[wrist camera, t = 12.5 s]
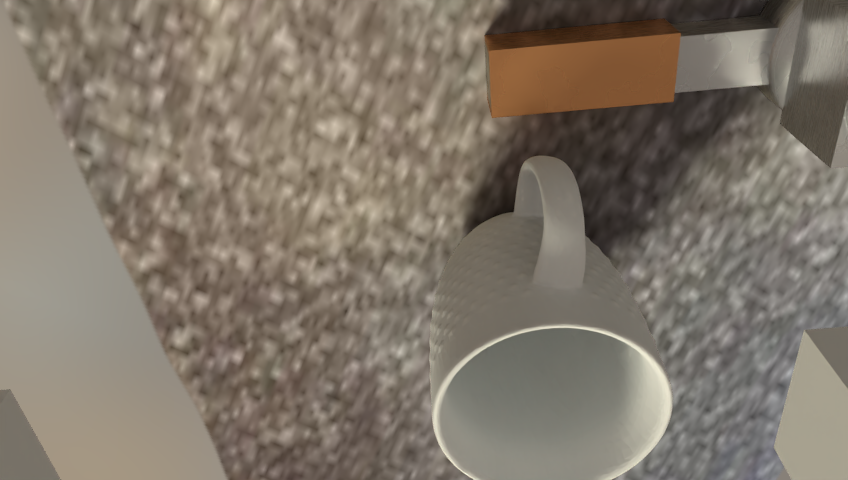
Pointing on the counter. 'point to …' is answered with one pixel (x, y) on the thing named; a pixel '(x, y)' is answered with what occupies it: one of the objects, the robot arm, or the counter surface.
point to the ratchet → (639, 61)
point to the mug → (542, 347)
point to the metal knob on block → (820, 82)
